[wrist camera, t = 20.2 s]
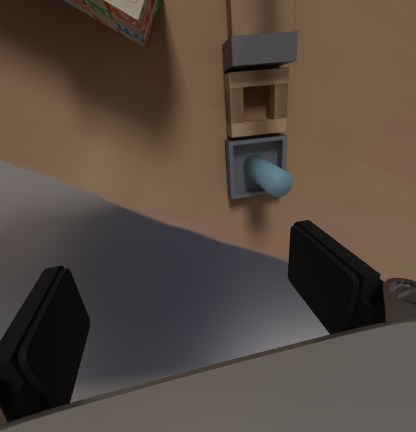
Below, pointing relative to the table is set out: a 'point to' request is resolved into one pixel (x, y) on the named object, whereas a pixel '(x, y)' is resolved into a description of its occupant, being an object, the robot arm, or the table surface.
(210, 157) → the table surface
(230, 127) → the socket
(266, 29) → the board
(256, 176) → the dowel
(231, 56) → the gray rectangular block
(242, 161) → the tray
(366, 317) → the robot arm
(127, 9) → the stack of blocks
